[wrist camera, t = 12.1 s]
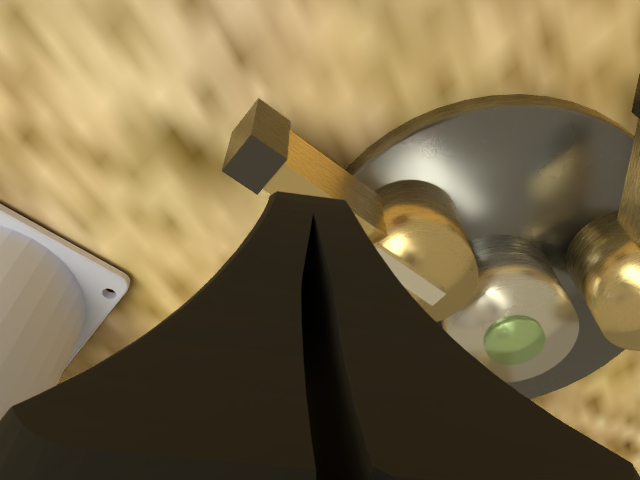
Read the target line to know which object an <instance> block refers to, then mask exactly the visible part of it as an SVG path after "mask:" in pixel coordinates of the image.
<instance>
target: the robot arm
mask: <svg viewBox="0 0 640 480" xmlns="http://www.w3.org/2000/svg"><path fill="white" fill-rule="evenodd" d="M129 285H130V279H129V277H128V275H126V274H125V273H124V272H122V271H120V270H118V269H116V268H115V267H113V266H111V265H109V264H107V263H106V262H104V261H102V260H100V259H99V258H97V257H95V256H93V255H91V254H90V253H88V252H86V251H84V250H82V249H81V248H79V247H77V246H75V245H73V244H72V243H70V242H68V241H66V240H64V239H63V238H61V237H59V236H57V235H55V234H54V233H52V232H50V231H48V230H46V229H45V228H43V227H41V226H39V225H37V224H36V223H34V222H32V221H30V220H28V219H27V218H25V217H23V216H21V215H19V214H18V213H16V212H14V211H12V210H10V209H9V208H7V207H5V206H3V205H1V204H0V480H640V476H639V475H638V473H637V471H636V470H635V468H634V466H633V464H632V463H631V462H629V461H627V460H625V459H624V458H622V457H620V456H619V455H617V454H615V453H614V452H612V451H610V450H609V449H607V448H605V447H604V446H602V445H600V444H598V443H597V442H595V441H593V440H592V439H590V438H588V437H587V436H585V435H583V434H582V433H580V432H578V431H577V430H575V429H573V428H572V427H570V426H568V425H566V424H565V423H563V422H562V421H560V420H559V419H557V418H555V417H554V416H552V415H551V414H550V413H548V412H547V411H545V410H544V409H542V408H541V407H539V406H538V405H536V404H535V403H534V402H532V401H531V400H529V399H528V398H526V397H525V396H523V395H522V394H520V393H519V392H518V391H516V390H515V389H514V388H512V387H511V386H510V385H508V384H507V383H506V382H504V381H503V380H502V379H500V378H499V377H498V376H496V375H495V374H494V373H493V372H492V371H490V370H489V369H488V368H487V367H486V366H484V365H483V364H482V363H481V362H479V361H478V360H477V359H476V358H475V357H473V356H472V355H471V354H470V353H469V352H467V351H466V350H465V349H464V348H463V347H462V346H461V345H460V344H458V343H457V342H456V341H455V340H454V339H453V338H452V337H451V336H450V335H449V334H448V333H447V332H446V331H445V330H444V329H443V328H442V327H441V326H440V325H439V324H438V323H437V322H436V321H435V320H434V319H433V318H432V317H431V316H430V315H429V314H428V313H427V312H426V311H425V310H424V309H423V308H422V307H421V306H420V305H419V304H418V303H417V302H416V300H415V299H414V298H413V297H412V296H411V294H410V293H409V292H408V291H407V290H406V288H405V287H404V286H403V285H402V284H401V282H400V281H399V280H398V279H397V277H396V276H395V275H394V273H393V272H392V271H391V269H390V268H389V266H388V265H387V264H386V262H385V261H384V259H383V258H382V257H381V255H380V254H379V252H378V251H377V249H376V248H375V246H374V245H373V243H372V242H371V240H370V239H369V237H368V236H367V234H366V232H365V231H364V229H363V228H362V226H361V224H360V223H359V221H358V219H357V218H356V216H355V214H354V213H353V211H352V209H351V207H350V206H349V205H348V203H347V202H346V200H341V199H334V198H326V197H318V196H311V195H303V194H295V193H288V192H280V191H276V192H275V193H273V194H272V195H270V197H269V201H268V203H267V205H266V208H265V210H264V211H263V213H262V215H261V217H260V218H259V220H258V221H257V223H256V225H255V226H254V228H253V229H252V230H251V232H250V233H249V234H248V236H247V237H246V238H245V240H244V241H243V243H242V244H241V245H240V247H239V248H238V249H237V250H236V252H235V253H234V254H233V255H232V256H231V257H230V258H229V260H228V261H227V262H226V263H225V264H224V265H223V266H222V267H221V269H220V270H219V271H218V272H217V273H216V274H215V275H214V276H213V277H212V278H211V279H210V280H209V281H208V282H207V283H206V284H205V285H204V286H203V287H202V288H201V289H200V290H199V291H198V292H197V293H196V294H195V295H194V296H193V297H191V298H190V299H189V300H188V301H187V302H186V303H185V304H184V305H182V306H181V307H180V308H179V309H178V310H176V311H175V312H174V313H172V314H171V315H170V316H169V317H167V318H166V319H165V320H163V321H162V322H161V323H160V324H158V325H157V326H156V327H154V328H153V329H152V330H150V331H149V332H148V333H146V334H145V335H143V336H142V337H140V338H139V339H137V340H136V341H134V342H133V343H131V344H130V345H128V346H126V347H125V348H123V349H122V350H120V351H118V352H117V353H115V354H113V355H112V356H110V357H109V358H107V359H105V360H104V361H102V362H101V363H99V364H97V365H96V366H94V367H92V368H90V369H89V370H87V371H85V372H83V373H81V374H79V375H77V376H75V377H73V378H71V379H69V380H67V381H65V382H63V383H61V384H58V381H59V379H60V377H61V375H62V373H63V371H64V369H65V368H66V367H67V366H68V364H69V363H70V362H71V361H72V359H73V358H74V357H75V356H76V354H77V353H78V352H79V351H80V349H81V348H82V347H83V346H84V344H85V343H86V342H87V341H88V339H89V338H90V337H91V336H92V334H93V333H94V332H95V331H96V329H97V328H98V327H99V326H100V324H101V323H102V322H103V321H104V319H105V318H106V317H107V316H108V314H109V313H110V312H111V311H112V309H113V308H114V307H115V306H116V304H117V303H118V302H119V301H120V299H121V298H122V297H123V296H124V294H125V293H126V292H127V290H128V288H129ZM108 288H109V289H112V290H113V291H115V292H114V293H112V292H108V291H107V290H106V289H108ZM57 384H58V385H57Z"/></svg>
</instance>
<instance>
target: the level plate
mask: <svg viewBox="0 0 640 480" xmlns="http://www.w3.org/2000/svg"><path fill="white" fill-rule="evenodd" d="M633 142H634V136H632V135H631V134H630V133H629V132H628V131H626V130H625V129H624V128H623V127H621V126H620V125H619V124H618V123H616V122H615V121H613V120H611V119H609V118H608V117H606V116H604V115H602V114H600V113H599V112H597V111H595V110H592V109H589V108H587V107H584V106H581V105H579V104H576V103H574V102H570V101H565V100H561V99H556V98H551V97H546V96H534V95H522V94H517V95H495V96H487V97H481V98H475V99H469V100H464V101H461V102H457V103H454V104H451V105H447V106H444V107H440V108H437V109H435V110H433V111H430V112H428V113H425V114H423V115H421V116H418V117H416V118H414V119H412V120H410V121H408V122H406V123H405V124H403V125H401V126H399V127H398V128H396V129H394V130H392V131H391V132H389V133H388V134H386V135H385V136H384V137H382V138H381V139H379V140H378V141H377V142H375V143H374V144H373V145H371V146H370V147H369V148H367V149H366V150H365V151H364V152H363V153H362V154H361V155H360V156H359V157H358V158H357V159H356V160H355V161H354V162H353V163H352V164H351V165H350V166H349V167H348V168H347V169H346V171H347V172H348V173H350V174H351V175H352V176H354V177H355V178H356V179H358V180H359V181H361V182H362V183H363V184H365V185H366V186H367V187H369V188H370V189H372V190H373V191H376V190H377V189H379V188H381V187H382V186H384V185H387V184H389V183H392V182H396V181H401V180H420V181H425V182H428V183H431V184H434V185H436V186H438V187H439V188H441V189H442V190H444V191H445V192H446V193H447V194H448V195H449V196H450V198H451V199H452V201H453V202H454V204H455V207H456V209H457V212H458V215H459V217H460V220H461V223H462V225H463V228H464V231H465V233H466V236H467V239H468V242H469V244H470V247H471V250H472V252H473V255H474V258H475V260H476V263H477V267H478V282H477V286H476V289H475V291H474V293H473V295H472V296H471V298H470V300H469V301H468V302H467V303H466V304H465V305H464V306H463V307H462V308H461V309H460V310H459V311H457V312H456V313H454V314H453V315H451V316H449V317H447V318H445V319H443V320H441V321H438V322H437V323H438V324H439V325H440V326H441V327H442V328H443V329H444V330H445V331H446V332H447V333H448V334H449V335H450V336H451V337H452V338H453V339H454V340H455V341H456V342H457V343H458V344H460V345H461V346H462V347H463V348H464V349H465V350H466V351H467V352H469V353H470V354H471V355H472V356H473V357H475V358H476V359H477V360H478V361H479V362H481V363H482V364H483V365H484V366H486V367H487V368H488V369H489V370H490V371H492V372H493V373H494V374H495V375H496V376H498V377H499V378H500V379H502V380H503V381H504V382H506V383H509V382H511V385H512V388H514V389H515V390H516V391H518V392H519V393H520V394H522V395H523V396H525V397H526V398H528V399H531V398H534V397H538V396H541V395H544V394H547V393H550V392H552V391H555V390H558V389H560V388H563V387H565V386H568V385H570V384H572V383H574V382H576V381H578V380H580V379H582V378H584V377H586V376H587V375H589V374H591V373H592V372H594V371H595V370H597V369H599V368H600V367H602V366H604V365H605V364H606V363H608V362H609V361H610V360H612V359H613V358H614V357H616V356H617V355H618V354H620V353H621V352H622V351H623V350H625V349H624V348H621V347H618V346H616V345H614V344H613V343H611V342H610V341H609V340H608V339H607V338H606V337H605V336H604V335H603V333H602V331H601V329H600V328H599V326H598V324H597V322H596V321H595V319H594V317H593V315H592V314H591V312H590V310H589V308H588V307H587V305H586V303H585V301H584V300H583V298H582V296H581V294H580V293H579V291H578V289H577V287H576V286H575V284H574V282H573V280H572V279H571V277H570V275H569V273H568V271H567V267H566V254H567V250H568V248H569V245H570V243H571V242H572V240H573V238H574V237H575V236H576V234H577V233H578V232H579V231H580V230H581V229H582V228H583V227H585V226H586V225H587V224H588V223H590V222H591V221H593V220H594V219H596V218H598V217H600V216H602V215H604V214H607V213H610V212H614V211H618V210H619V207H620V202H621V198H622V193H623V188H624V184H625V179H626V174H627V170H628V165H629V160H630V156H631V151H632V146H633Z"/></svg>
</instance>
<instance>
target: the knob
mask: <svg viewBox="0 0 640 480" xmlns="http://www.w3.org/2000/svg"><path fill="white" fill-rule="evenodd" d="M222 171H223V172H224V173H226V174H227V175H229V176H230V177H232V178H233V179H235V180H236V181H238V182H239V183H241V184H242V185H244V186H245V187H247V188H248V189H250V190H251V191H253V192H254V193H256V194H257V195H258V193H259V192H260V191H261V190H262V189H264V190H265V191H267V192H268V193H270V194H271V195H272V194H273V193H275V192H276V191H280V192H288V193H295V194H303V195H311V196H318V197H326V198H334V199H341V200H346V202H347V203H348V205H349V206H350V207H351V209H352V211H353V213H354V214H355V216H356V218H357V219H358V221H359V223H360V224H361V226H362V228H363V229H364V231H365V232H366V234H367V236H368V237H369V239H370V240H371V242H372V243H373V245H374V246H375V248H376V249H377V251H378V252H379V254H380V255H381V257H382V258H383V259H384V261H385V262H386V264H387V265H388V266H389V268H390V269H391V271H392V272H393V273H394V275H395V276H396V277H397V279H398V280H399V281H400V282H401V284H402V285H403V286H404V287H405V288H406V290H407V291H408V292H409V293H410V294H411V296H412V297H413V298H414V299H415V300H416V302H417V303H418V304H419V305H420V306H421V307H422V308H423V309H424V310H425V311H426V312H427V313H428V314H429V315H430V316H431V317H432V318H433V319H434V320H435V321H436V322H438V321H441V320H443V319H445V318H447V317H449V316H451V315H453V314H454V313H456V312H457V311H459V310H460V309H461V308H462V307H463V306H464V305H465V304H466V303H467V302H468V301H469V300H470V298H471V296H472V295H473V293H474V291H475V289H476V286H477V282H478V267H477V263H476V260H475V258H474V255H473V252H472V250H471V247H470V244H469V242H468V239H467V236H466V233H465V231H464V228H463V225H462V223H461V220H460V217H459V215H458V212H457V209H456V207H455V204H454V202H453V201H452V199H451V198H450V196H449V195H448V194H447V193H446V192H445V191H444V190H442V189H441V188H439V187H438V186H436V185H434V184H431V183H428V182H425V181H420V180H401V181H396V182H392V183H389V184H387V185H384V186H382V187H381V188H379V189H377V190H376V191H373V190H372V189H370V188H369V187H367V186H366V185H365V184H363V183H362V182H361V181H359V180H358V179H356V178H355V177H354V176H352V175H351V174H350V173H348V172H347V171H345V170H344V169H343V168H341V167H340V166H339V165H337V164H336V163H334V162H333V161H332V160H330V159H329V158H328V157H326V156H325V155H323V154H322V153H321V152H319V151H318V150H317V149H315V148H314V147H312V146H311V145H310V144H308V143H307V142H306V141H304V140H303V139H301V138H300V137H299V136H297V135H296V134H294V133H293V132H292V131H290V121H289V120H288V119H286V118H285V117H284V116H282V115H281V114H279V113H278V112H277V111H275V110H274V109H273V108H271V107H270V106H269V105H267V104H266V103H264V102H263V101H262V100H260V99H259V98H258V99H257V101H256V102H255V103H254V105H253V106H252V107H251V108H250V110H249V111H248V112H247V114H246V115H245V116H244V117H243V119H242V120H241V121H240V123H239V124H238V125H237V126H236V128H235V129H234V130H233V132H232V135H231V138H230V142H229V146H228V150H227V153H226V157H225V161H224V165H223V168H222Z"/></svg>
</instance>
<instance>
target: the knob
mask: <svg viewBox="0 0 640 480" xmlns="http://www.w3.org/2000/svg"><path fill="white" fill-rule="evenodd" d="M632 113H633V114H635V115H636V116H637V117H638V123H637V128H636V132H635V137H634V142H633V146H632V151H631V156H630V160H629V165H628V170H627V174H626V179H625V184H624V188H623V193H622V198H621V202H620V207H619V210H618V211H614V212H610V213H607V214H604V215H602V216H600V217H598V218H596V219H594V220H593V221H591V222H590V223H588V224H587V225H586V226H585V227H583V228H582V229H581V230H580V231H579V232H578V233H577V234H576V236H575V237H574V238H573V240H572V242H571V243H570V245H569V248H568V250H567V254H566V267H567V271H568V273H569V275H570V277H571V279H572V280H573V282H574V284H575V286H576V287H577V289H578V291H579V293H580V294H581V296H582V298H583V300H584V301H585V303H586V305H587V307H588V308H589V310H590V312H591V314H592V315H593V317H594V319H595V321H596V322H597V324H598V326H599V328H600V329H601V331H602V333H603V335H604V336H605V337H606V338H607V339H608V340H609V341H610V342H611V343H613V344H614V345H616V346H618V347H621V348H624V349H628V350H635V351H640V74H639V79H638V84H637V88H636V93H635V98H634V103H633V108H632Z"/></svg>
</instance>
